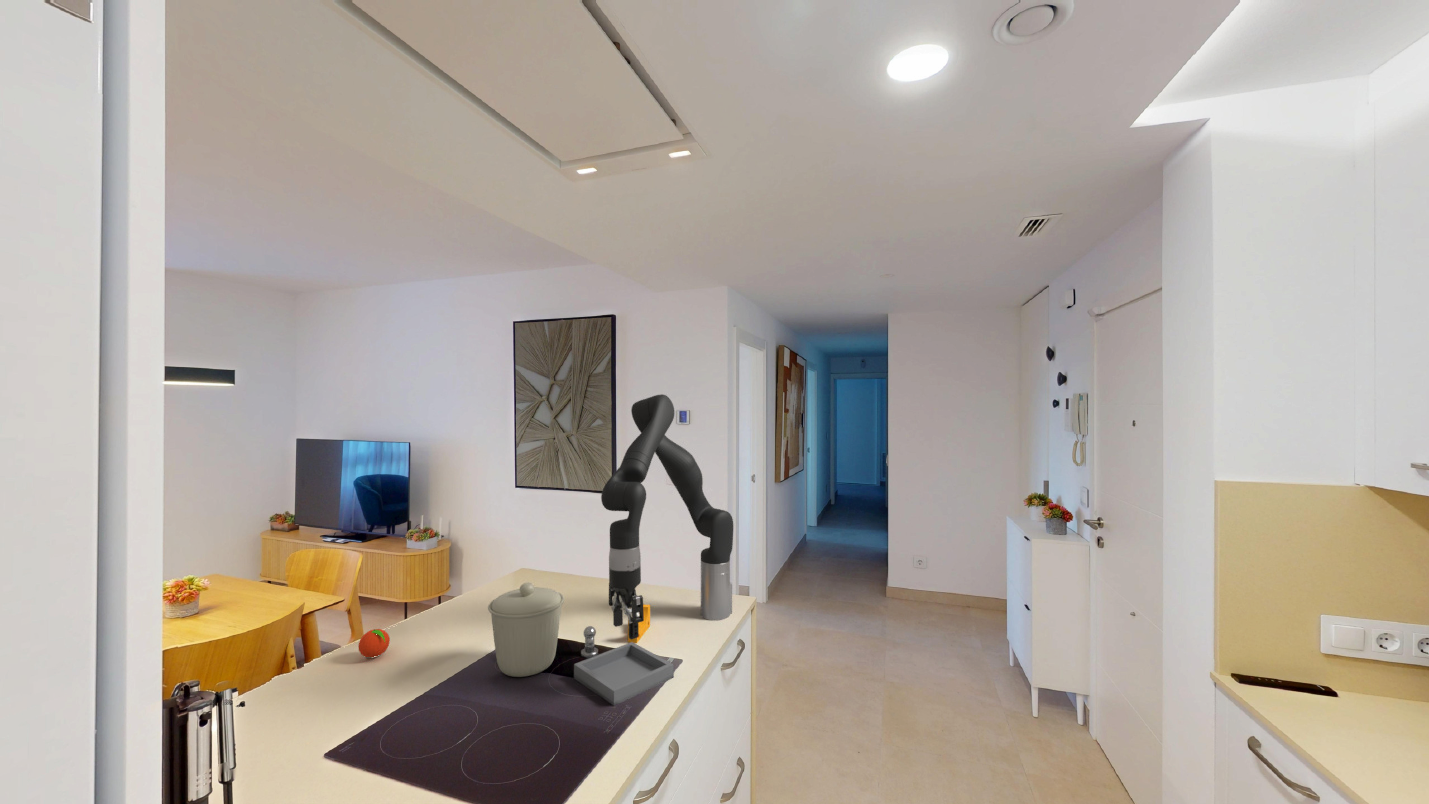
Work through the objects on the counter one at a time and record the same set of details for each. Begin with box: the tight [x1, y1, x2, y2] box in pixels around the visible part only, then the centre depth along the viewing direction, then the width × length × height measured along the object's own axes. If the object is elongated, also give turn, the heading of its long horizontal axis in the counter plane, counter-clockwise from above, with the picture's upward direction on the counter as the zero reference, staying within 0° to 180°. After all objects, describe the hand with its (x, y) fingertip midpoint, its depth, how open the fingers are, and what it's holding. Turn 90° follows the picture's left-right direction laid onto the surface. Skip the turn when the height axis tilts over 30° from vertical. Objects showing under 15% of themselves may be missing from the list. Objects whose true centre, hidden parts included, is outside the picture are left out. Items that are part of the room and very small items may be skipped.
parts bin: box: [573, 642, 675, 706], centre depth 128 cm, size 17×17×4 cm
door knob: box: [580, 625, 599, 659], centre depth 140 cm, size 4×4×7 cm
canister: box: [487, 582, 565, 678], centre depth 133 cm, size 18×18×21 cm
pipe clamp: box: [627, 603, 651, 644], centre depth 153 cm, size 12×4×6 cm, turn 169°
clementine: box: [358, 628, 391, 658], centre depth 139 cm, size 8×7×7 cm
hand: (625, 631), depth 128 cm, fingers open, 8 cm apart
